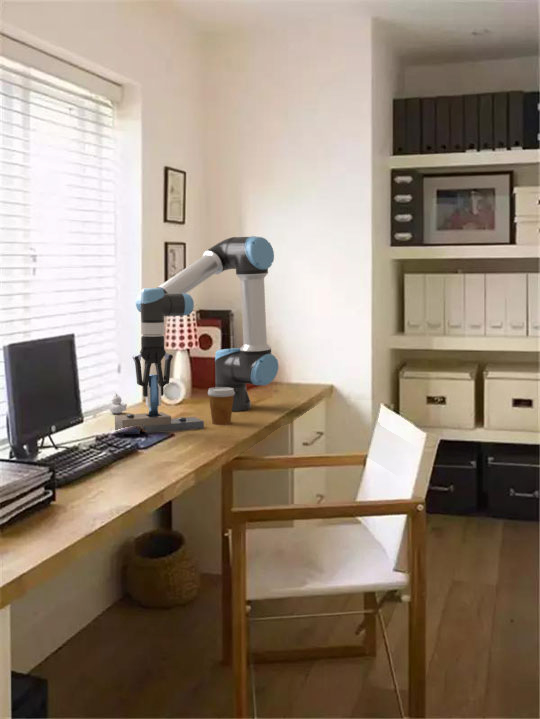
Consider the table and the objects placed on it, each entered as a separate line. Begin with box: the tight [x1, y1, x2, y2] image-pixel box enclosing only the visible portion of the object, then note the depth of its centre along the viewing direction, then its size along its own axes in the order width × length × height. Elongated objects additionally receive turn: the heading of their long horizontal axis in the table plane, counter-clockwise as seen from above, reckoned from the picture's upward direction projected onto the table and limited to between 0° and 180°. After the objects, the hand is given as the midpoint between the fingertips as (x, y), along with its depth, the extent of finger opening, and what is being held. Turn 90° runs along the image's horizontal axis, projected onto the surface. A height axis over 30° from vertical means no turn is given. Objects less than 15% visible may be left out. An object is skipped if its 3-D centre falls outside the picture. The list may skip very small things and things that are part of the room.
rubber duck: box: [109, 393, 128, 415], centre depth 321 cm, size 5×7×8 cm
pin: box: [148, 373, 159, 417], centre depth 289 cm, size 3×3×14 cm
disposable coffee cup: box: [207, 386, 235, 426], centre depth 302 cm, size 10×10×12 cm
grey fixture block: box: [114, 411, 205, 434], centre depth 291 cm, size 28×9×6 cm, turn 115°
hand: (153, 405), depth 289 cm, fingers closed on pin, 3 cm apart
